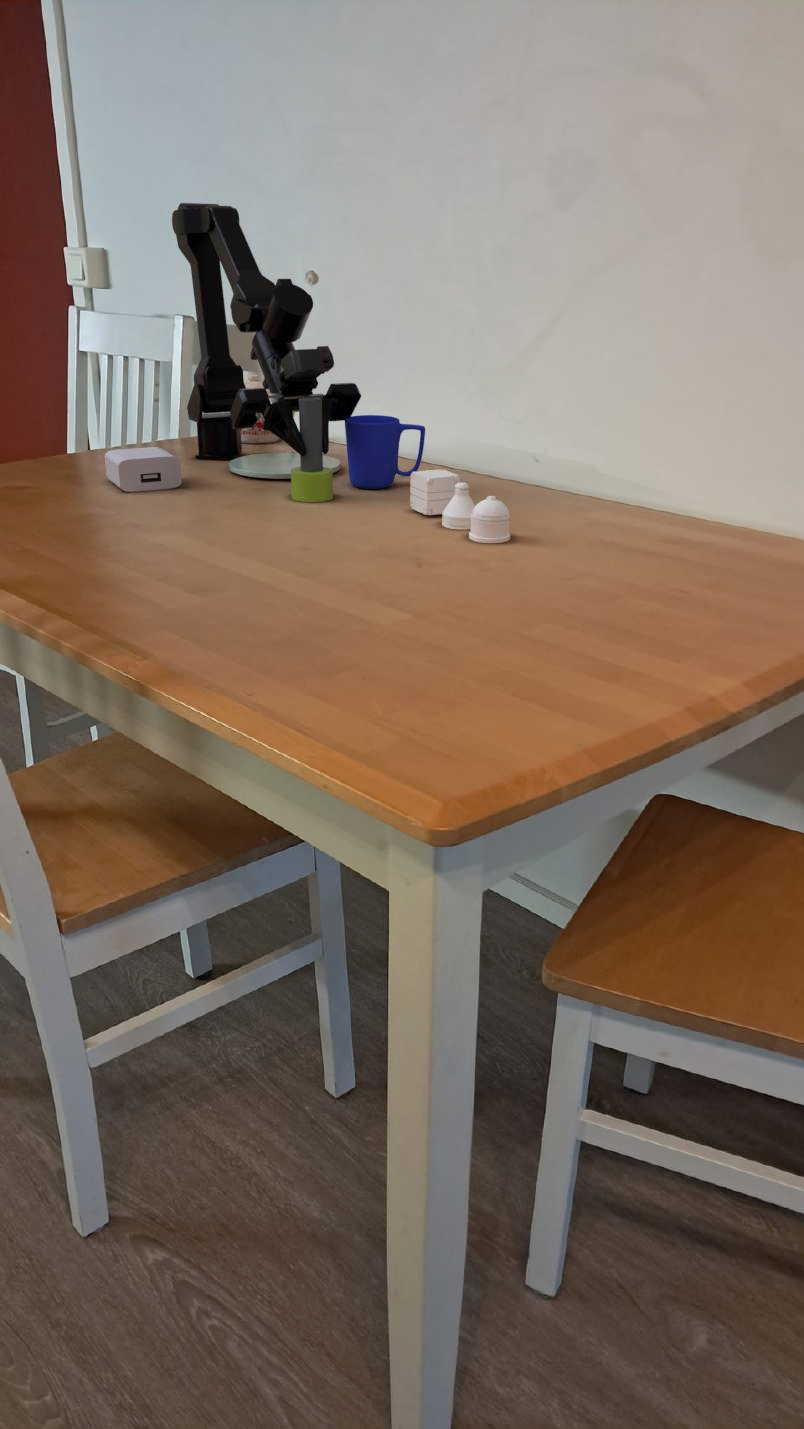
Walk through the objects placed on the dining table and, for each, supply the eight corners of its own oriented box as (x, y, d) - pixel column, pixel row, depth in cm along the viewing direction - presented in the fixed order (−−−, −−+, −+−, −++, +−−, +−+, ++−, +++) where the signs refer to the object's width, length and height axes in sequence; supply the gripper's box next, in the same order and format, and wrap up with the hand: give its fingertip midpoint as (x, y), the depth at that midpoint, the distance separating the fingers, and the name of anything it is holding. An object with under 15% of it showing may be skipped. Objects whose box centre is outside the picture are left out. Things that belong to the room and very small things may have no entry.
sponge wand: (287, 501, 153) (284, 400, 147) (297, 492, 158) (294, 394, 153) (328, 503, 152) (326, 401, 146) (336, 494, 158) (335, 396, 152)
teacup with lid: (237, 445, 194) (234, 378, 189) (227, 437, 201) (224, 372, 197) (301, 442, 197) (299, 376, 193) (289, 434, 205) (287, 371, 201)
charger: (155, 469, 173) (182, 487, 160) (98, 474, 169) (120, 492, 157) (153, 439, 171) (179, 455, 158) (94, 443, 167) (117, 460, 155)
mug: (423, 492, 159) (425, 424, 155) (343, 491, 159) (342, 422, 155) (424, 481, 167) (425, 415, 163) (347, 480, 167) (346, 414, 163)
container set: (409, 510, 148) (409, 471, 146) (442, 507, 150) (443, 468, 148) (482, 545, 132) (484, 501, 130) (518, 540, 134) (520, 497, 132)
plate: (214, 478, 167) (214, 470, 166) (247, 457, 183) (246, 450, 182) (327, 483, 164) (326, 475, 164) (349, 462, 180) (349, 454, 180)
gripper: (233, 327, 144) (270, 422, 140) (354, 324, 153) (392, 413, 149) (215, 381, 154) (249, 472, 150) (330, 375, 163) (365, 460, 158)
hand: (315, 453), depth 151 cm, fingers closed on sponge wand, 3 cm apart
